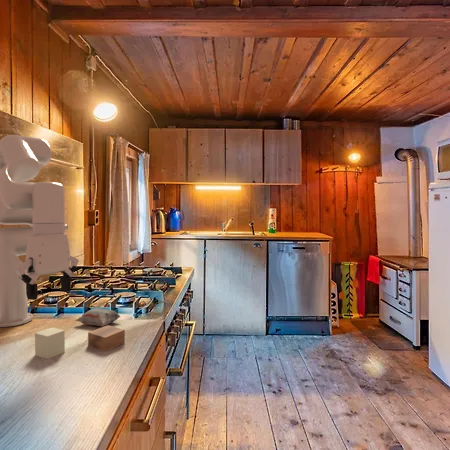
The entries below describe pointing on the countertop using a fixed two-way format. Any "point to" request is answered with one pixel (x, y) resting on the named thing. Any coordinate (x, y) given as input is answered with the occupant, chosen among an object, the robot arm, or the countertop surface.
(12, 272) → the robot arm
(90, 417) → the countertop surface
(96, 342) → the walnut base
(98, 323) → the packaged food
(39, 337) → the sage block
